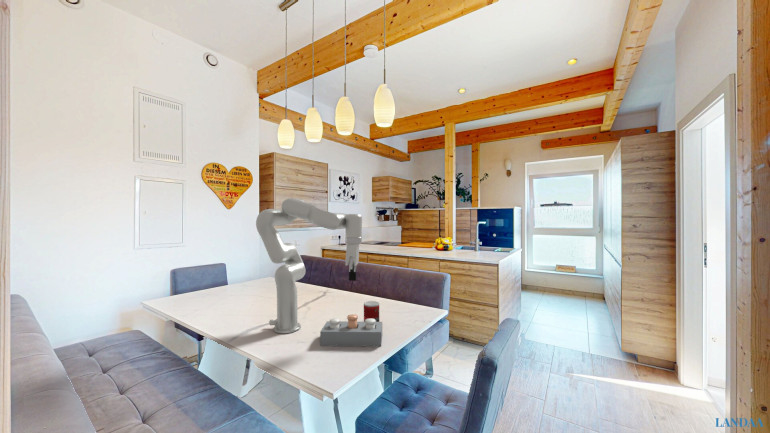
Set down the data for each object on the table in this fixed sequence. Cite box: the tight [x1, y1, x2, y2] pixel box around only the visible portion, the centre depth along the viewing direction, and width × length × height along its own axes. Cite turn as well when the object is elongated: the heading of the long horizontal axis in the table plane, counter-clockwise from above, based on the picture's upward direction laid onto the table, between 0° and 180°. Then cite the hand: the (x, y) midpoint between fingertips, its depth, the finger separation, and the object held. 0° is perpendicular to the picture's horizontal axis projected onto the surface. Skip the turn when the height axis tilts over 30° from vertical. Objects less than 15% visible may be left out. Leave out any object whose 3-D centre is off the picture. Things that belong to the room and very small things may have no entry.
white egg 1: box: [329, 317, 341, 329], centre depth 130 cm, size 5×5×8 cm
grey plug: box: [365, 318, 376, 329], centre depth 130 cm, size 5×5×8 cm
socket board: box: [319, 320, 383, 347], centre depth 130 cm, size 26×12×6 cm, turn 88°
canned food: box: [363, 300, 380, 322], centre depth 148 cm, size 8×8×11 cm
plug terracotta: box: [346, 313, 359, 329], centre depth 130 cm, size 5×5×8 cm
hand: (352, 280), depth 135 cm, fingers closed
